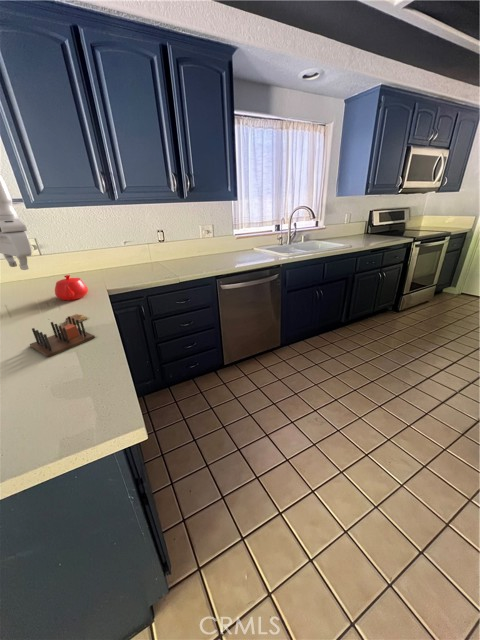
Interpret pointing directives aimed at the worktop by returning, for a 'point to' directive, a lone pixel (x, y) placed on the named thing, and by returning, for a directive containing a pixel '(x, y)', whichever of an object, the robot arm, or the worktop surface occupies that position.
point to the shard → (75, 318)
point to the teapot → (70, 288)
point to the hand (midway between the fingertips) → (19, 268)
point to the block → (71, 331)
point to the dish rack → (59, 339)
